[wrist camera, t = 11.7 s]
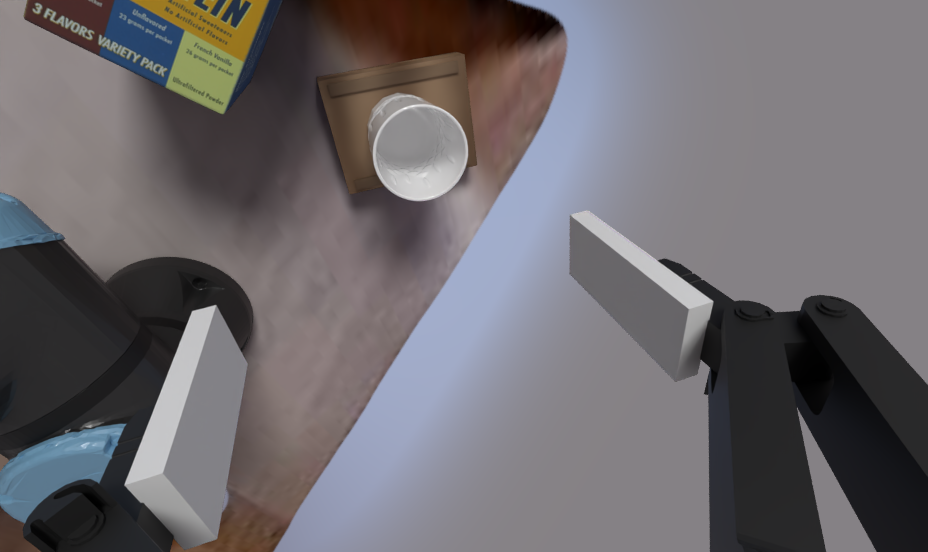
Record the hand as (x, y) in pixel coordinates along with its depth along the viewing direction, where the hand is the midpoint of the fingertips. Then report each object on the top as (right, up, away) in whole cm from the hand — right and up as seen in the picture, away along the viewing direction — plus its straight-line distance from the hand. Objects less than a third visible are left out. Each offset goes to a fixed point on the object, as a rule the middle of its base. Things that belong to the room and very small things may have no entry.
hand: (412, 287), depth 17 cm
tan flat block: (-5, +17, +30) cm, 35 cm away
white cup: (-4, +15, +28) cm, 32 cm away
